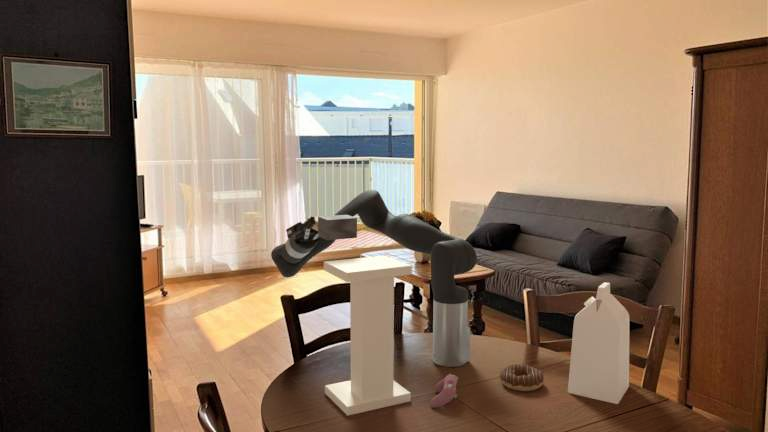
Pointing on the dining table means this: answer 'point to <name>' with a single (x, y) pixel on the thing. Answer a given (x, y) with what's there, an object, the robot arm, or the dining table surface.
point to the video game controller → (444, 391)
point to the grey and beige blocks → (336, 227)
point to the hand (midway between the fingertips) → (319, 219)
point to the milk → (600, 349)
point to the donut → (521, 377)
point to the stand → (369, 334)
